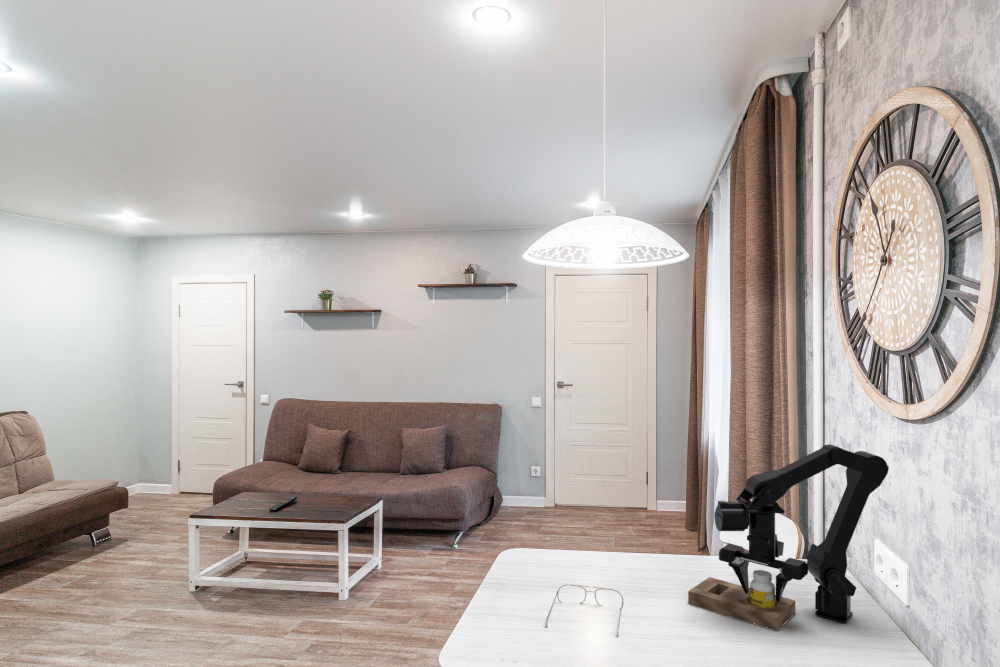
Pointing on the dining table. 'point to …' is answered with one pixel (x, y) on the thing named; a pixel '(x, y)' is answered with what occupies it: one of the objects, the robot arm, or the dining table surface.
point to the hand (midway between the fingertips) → (762, 597)
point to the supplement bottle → (762, 590)
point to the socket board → (739, 603)
